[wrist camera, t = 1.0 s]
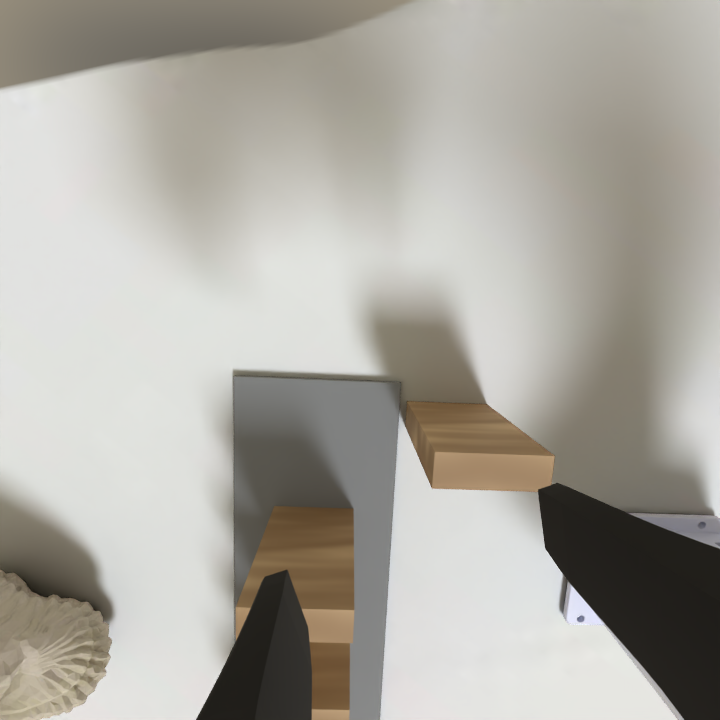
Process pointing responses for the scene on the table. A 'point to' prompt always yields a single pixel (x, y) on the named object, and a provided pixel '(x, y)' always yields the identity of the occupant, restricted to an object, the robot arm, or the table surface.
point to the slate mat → (323, 489)
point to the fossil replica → (47, 651)
